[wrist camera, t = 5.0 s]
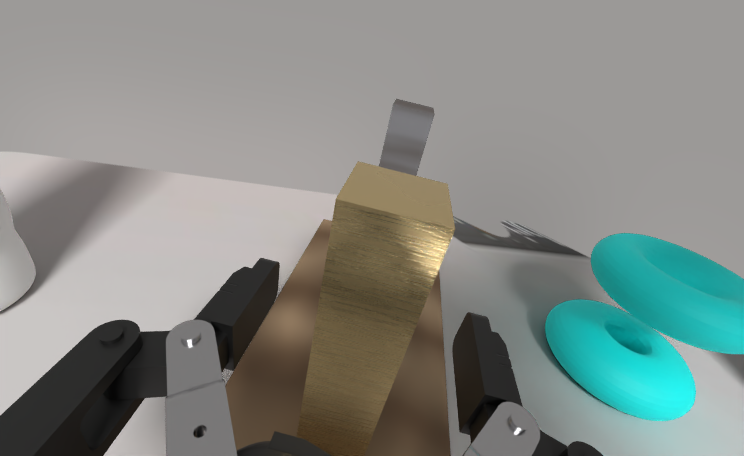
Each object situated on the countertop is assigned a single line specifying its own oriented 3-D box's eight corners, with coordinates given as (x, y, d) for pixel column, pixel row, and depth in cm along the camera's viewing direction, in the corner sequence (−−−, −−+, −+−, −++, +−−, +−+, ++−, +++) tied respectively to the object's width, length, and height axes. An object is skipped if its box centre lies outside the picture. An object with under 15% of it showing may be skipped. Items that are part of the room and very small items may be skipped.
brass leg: (357, 470, 14) (454, 229, 8) (293, 453, 14) (335, 199, 8) (368, 406, 17) (447, 183, 10) (313, 391, 17) (358, 161, 10)
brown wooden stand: (444, 572, 13) (687, 351, 6) (172, 496, 14) (91, 197, 6) (433, 259, 33) (487, 119, 26) (322, 231, 34) (344, 83, 26)
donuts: (858, 353, 16) (653, 295, 17) (710, 450, 21) (558, 402, 22) (714, 248, 25) (583, 213, 25) (634, 335, 30) (527, 303, 30)
